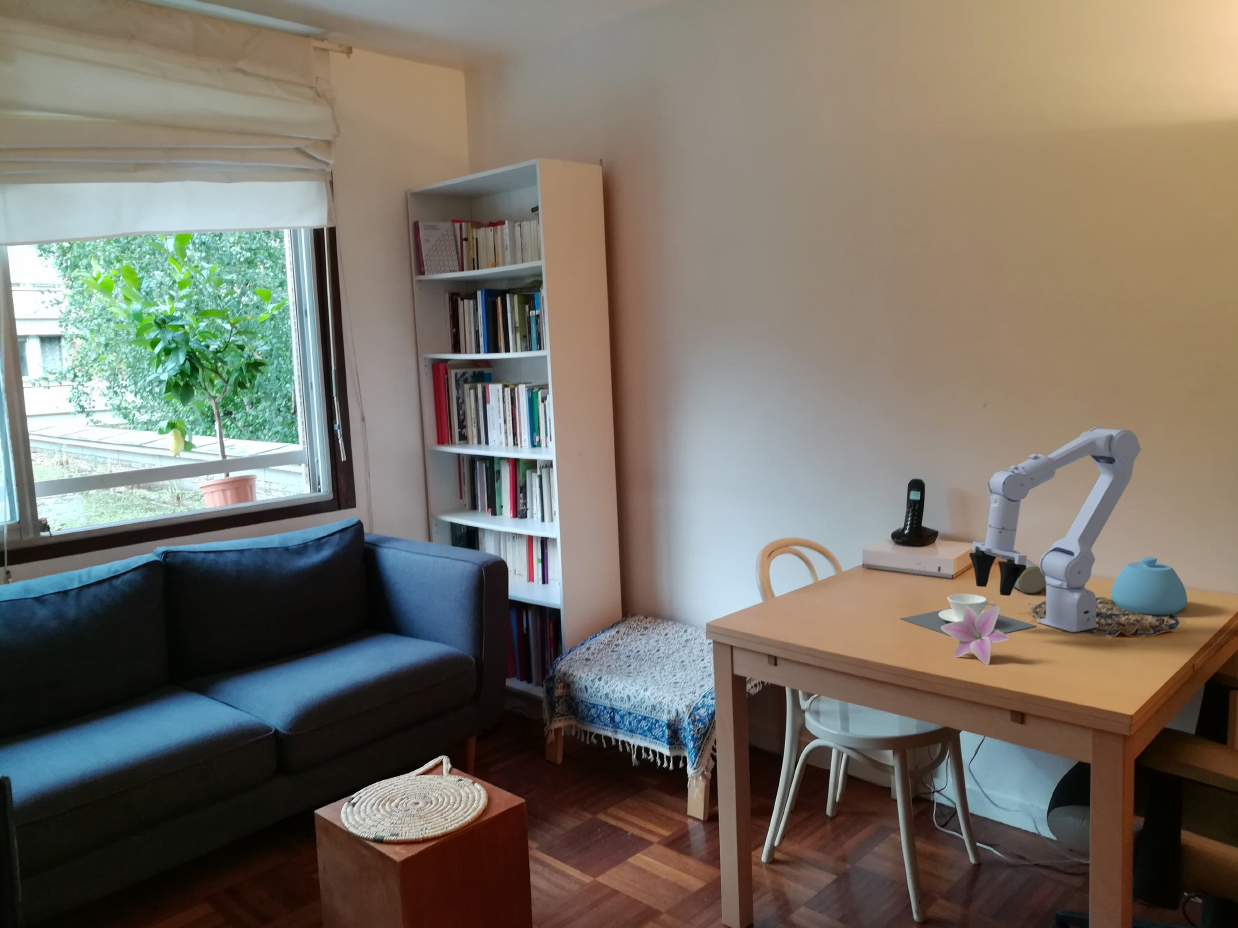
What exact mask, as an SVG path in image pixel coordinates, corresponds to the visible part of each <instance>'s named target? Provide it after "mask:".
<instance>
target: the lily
mask: <svg viewBox="0 0 1238 928" xmlns="http://www.w3.org/2000/svg"><path fill="white" fill-rule="evenodd" d="M1000 608H1001V607H1000V605H995V606H994V607H992V606H991V607H989V608H988V609H985V611H984V612H982V613H980V614H979V615H978V616H977V614H976V613H975V612H974V611H973V610H972V609H971V608H970V607H968V606H965V608H964V613H963V621H958V622H952V623H949V624H945V625H943V626H941V630H942V631H944V632H945V633H947V634H948V635H947V636H949V635H950V636H949V637H952V638H953V639H955V640H956V641H958V643H957V645H956V648H955V651H954V658H956V657H957V658H959V657H961V656H964V655H966V654H967V653H970V652H972V653H973V655H974V656H976V658H977V659H978V660H979V661H981V662H982V663H983V664H984V665H986V664H988V665H989V664H990V661H991V651H992V646H991V645H992V644H996V643H1000V642H1001V643H1002V642H1005V641H1008V640H1010V639H1011V638H1010V637H1009V636H1008V635H1007V634H1006V633H1005V634H1004V633H1002V632H1001V631H999V630H997V629H994V626H995V623H996V620H997V617H998V615H1000V614H999V613H1000V611H1001V609H1000Z"/></svg>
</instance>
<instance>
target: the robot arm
mask: <svg viewBox="0 0 1238 928" xmlns="http://www.w3.org/2000/svg"><path fill="white" fill-rule="evenodd" d="M1138 439H1139V438H1138V437H1137V434H1136V433H1135V432H1133V431H1132V430H1130V429H1113V428H1104V427H1101V426H1096V427H1092V428H1090V429H1089V430H1086V431H1083V432H1081V434H1080V435H1079V436H1078V437H1076V438H1075V439H1072V441H1070V442H1068V443H1066V444H1064V445H1063V446H1062V447H1060V448H1057V449H1056V450H1054V451H1053V452H1051V453H1049V454H1048V455H1045V454H1042V453H1039V454H1035V453H1033V454H1030V455H1029V456H1028V459H1027V460H1024V461H1023V462H1021V463H1018V464H1017V465H1011V466H1010V467H1009V469H1008V471H1006V470H1000V471H996V472H995V473H993V475H992V476H991V478H990V481H987V483H986V484H987V490H988V492H989V494H990V506H989V514H988V522H987V527H986V528H987V529H986V534H985V542H981V541H972V548H971V550H972V551H973V552H970V553H969V554H968V555H969V559H970V560H971V563H972V567H973V571H974V576H975V577H974V578H975V584H976V587H982V588H983V587H985V588H986V587H987V586H988V582H989V580H990V579H989V578H990V573H991V569H992V567H993V564H994V563H995V560H996V559H997V558H998V559H1002V560H1003V561H1002V560H1000V561H999V560H998V561H997V565H998V567H999V573H1000V574H999V575H1000V581H999V596H1007V597H1008V596H1011V595H1012V592H1013V590H1014V588H1015V587H1014V585H1015V583H1016V581H1017V580H1018V578H1019V577H1020V575H1021V574H1022V573H1023V571H1024V570H1025V569H1026V565H1025V564H1026V559H1027V558H1028V556H1027V555H1026V554H1023V553H1020V552H1018V551H1016V550H1015V543H1016V535H1017V529H1018V523H1019V517H1020V508H1021V501H1022V500H1024V499H1025V498H1027V496H1028V495H1029V493H1030V490H1032V489H1034V488H1036V487H1039V485H1040V486H1041V485H1042V484H1044V483H1045V482H1047V481H1049V480H1052V479H1053V478H1054V477H1055V476H1056V471H1057V470H1058V469H1061V468H1062V467H1065V466H1067V465H1069V464H1071V463H1074V462H1076V461H1079V460H1080V459H1083V458H1086V457H1087V456H1089V457H1090V459H1092V461H1093V462H1094V464H1095V465H1096V466H1097V469H1098V470H1099V474H1100V475H1099V477H1098V479H1097V481H1096V483H1095V484H1094V486H1093V488H1092V489H1091V491H1090V493H1089V494H1088V497H1087V498H1086V500H1085V501H1084V503H1083V505H1082V507H1081V509H1080V511H1079V512H1078V514H1077V516H1076V518H1075V519H1074V522H1073V523H1072V525H1071V527H1070V529H1069V530H1068V531H1067V534H1066V535H1065V536H1064V537H1063V538H1061V539H1058V540H1057V541H1055V542H1054V543H1053V544H1052V545H1051V547H1050V548H1049V550H1047V551H1045V552H1043V554H1042V555H1041V557H1040V559H1039V561H1038V566H1039V568H1040V571H1041V573H1042V574H1043V575H1044V576H1045V581H1046V589H1045V591H1046V592H1045V593H1046V594H1045V595H1046V597H1045V601H1046V602H1045V618H1040V619H1036V622H1037V623H1038V624H1042V625H1046V626H1050V627H1053V628H1057V629H1060V630H1062V631H1065V632H1070V633H1078V632H1081V631H1086V630H1090V629H1095V628H1098V627H1099V624H1097V598H1096V595H1095V593H1094V592H1093V591H1092V590H1091V589H1088V588H1086V584H1087V583H1088V582H1089V580H1090V578H1091V576H1092V568H1093V566H1094V563H1095V561H1096V557H1095V556H1094V553H1093V551H1092V548H1093V546H1094V544H1095V542H1096V541H1097V539H1098V538H1099V536H1100V533H1101V532H1102V530H1103V529H1104V527H1105V525H1106V523H1107V522H1108V520H1109V519H1110V516H1111V514H1112V513H1113V511H1114V509H1115V507H1116V506H1117V504H1118V502H1119V501H1120V499H1121V497H1122V496H1123V493H1124V492H1125V490H1126V488H1127V486H1128V485H1129V484H1130V483H1129V482H1130V481H1131V479H1132V476H1133V471H1134V466H1135V461H1136V459H1137V457H1138V456H1139V454H1140V453H1141V450H1142V449H1141V446H1140V443H1139V440H1138ZM1004 560H1005V561H1004Z"/></svg>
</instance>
